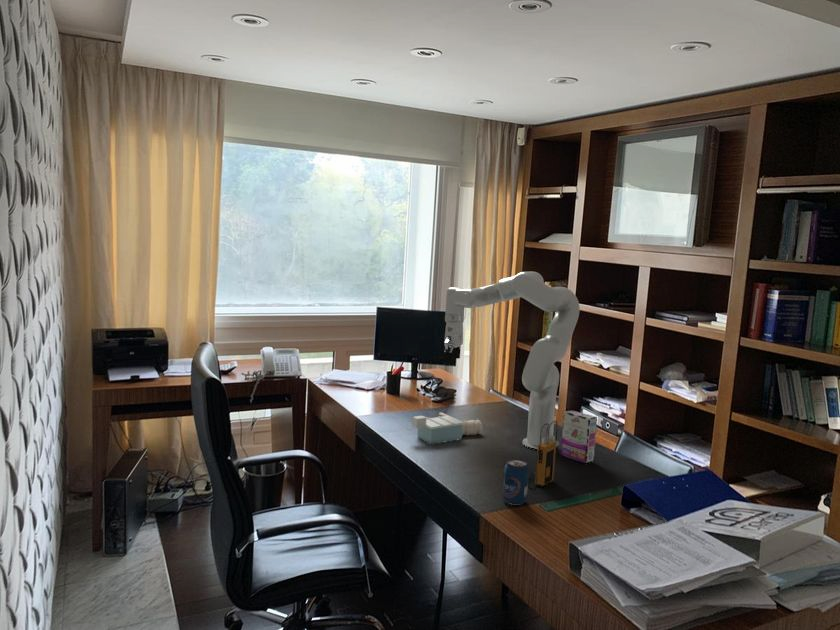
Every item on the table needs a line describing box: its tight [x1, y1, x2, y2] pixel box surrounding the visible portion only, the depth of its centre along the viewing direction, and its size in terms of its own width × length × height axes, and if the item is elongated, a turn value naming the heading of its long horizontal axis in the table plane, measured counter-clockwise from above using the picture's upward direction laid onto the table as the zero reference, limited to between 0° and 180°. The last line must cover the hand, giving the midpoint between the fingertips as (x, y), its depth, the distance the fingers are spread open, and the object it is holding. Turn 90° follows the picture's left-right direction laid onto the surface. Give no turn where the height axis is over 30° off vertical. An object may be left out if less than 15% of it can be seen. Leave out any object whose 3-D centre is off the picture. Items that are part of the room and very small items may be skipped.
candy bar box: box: [560, 409, 598, 463], centre depth 222 cm, size 11×5×16 cm, turn 40°
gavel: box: [438, 412, 483, 437], centre depth 257 cm, size 10×6×32 cm
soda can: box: [502, 458, 530, 504], centre depth 183 cm, size 7×7×12 cm
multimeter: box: [534, 420, 558, 489], centre depth 200 cm, size 15×10×20 cm
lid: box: [412, 415, 464, 429], centre depth 236 cm, size 10×19×4 cm, turn 123°
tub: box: [417, 425, 463, 445], centre depth 238 cm, size 9×14×6 cm, turn 123°
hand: (452, 360), depth 254 cm, fingers open, 9 cm apart
